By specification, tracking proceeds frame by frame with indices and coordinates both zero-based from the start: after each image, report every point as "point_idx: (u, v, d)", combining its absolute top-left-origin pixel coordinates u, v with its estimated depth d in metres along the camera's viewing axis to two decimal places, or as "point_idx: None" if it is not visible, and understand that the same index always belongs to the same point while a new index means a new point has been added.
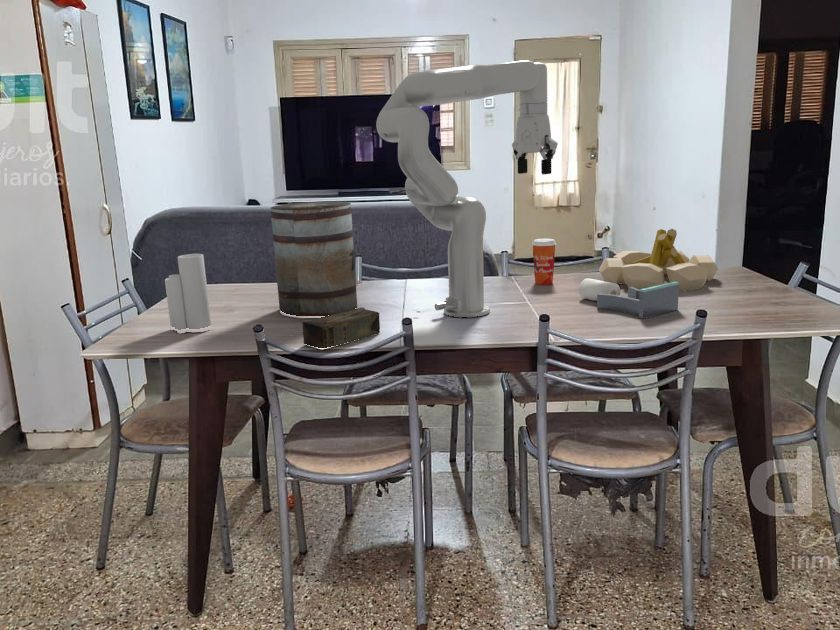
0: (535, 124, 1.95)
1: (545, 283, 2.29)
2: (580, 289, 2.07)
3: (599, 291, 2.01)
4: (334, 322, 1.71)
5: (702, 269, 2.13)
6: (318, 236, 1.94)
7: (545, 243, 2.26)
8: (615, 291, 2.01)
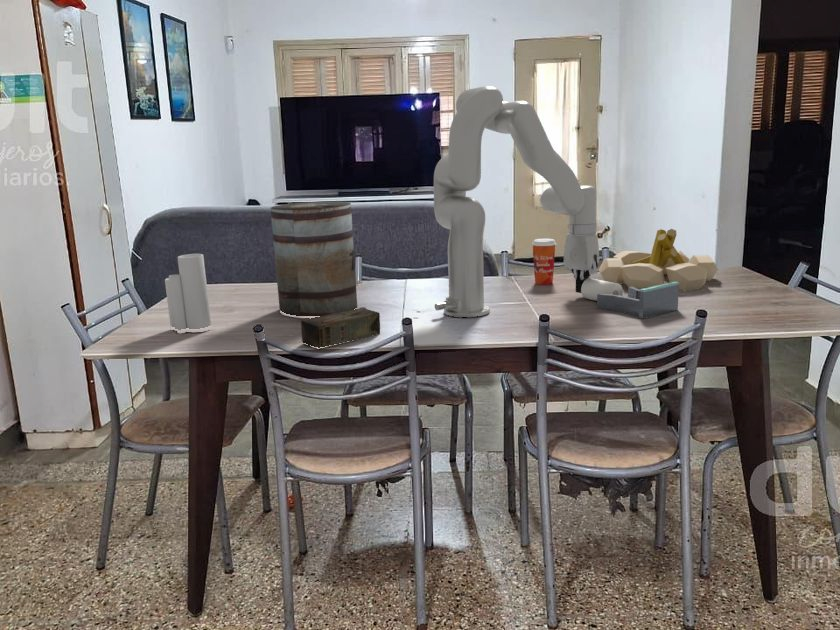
0: (584, 244, 2.03)
1: (545, 283, 2.29)
2: (582, 289, 2.06)
3: (601, 291, 2.00)
4: (331, 321, 1.71)
5: (702, 269, 2.13)
6: (318, 236, 1.94)
7: (545, 243, 2.26)
8: (617, 291, 2.00)
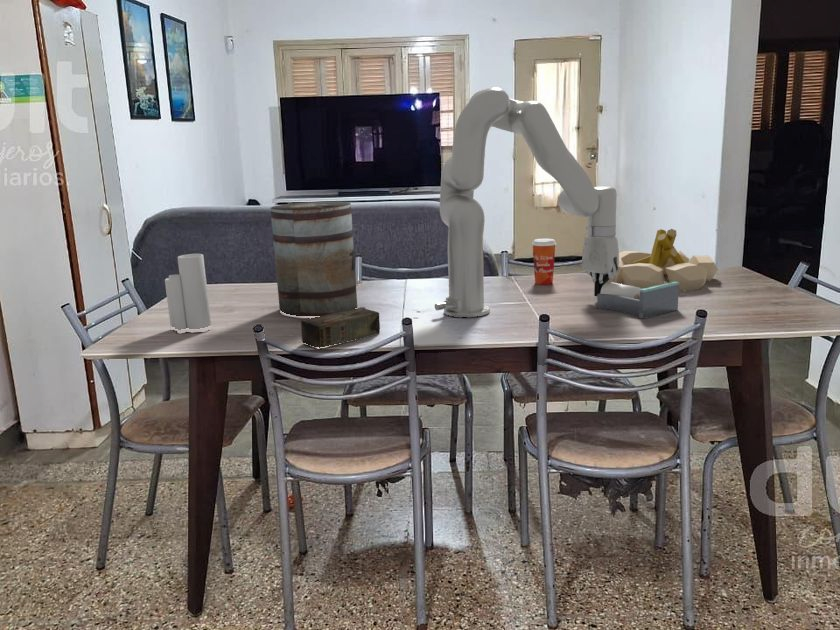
0: (604, 246, 1.97)
1: (545, 283, 2.29)
2: (601, 293, 2.00)
3: (622, 295, 1.94)
4: (332, 321, 1.71)
5: (702, 269, 2.13)
6: (318, 236, 1.94)
7: (545, 243, 2.26)
8: (638, 295, 1.94)
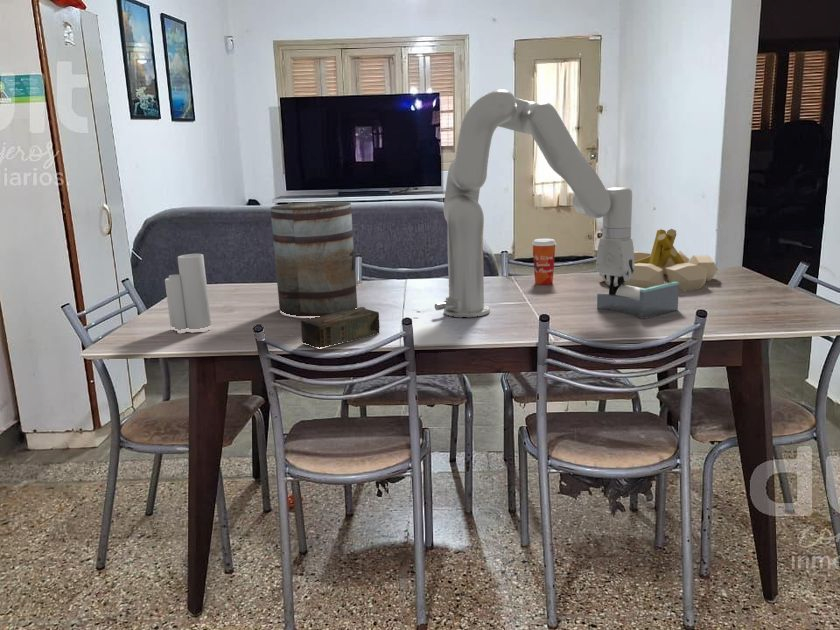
0: (619, 248, 1.93)
1: (545, 283, 2.29)
2: None
3: None
4: (332, 321, 1.71)
5: (702, 269, 2.13)
6: (318, 236, 1.94)
7: (545, 243, 2.26)
8: None
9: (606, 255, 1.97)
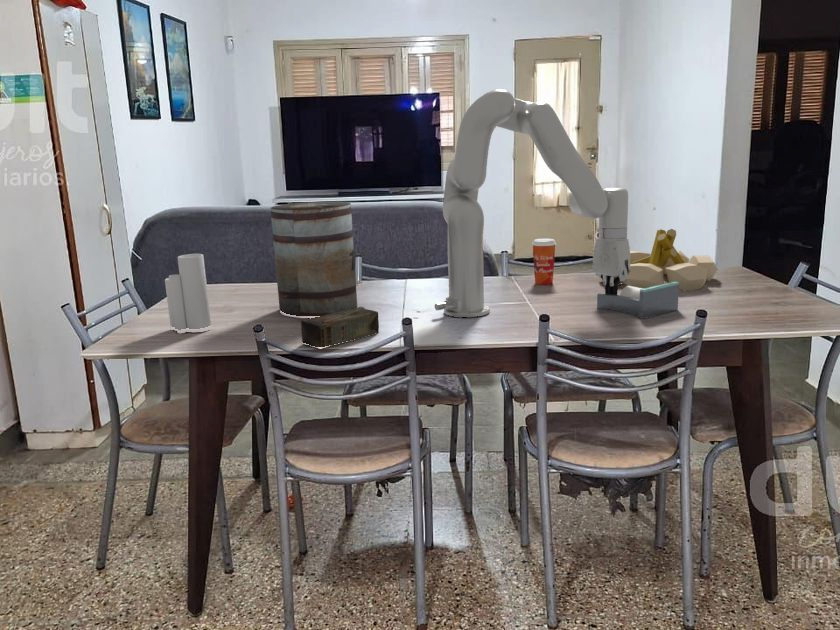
0: (615, 249, 1.94)
1: (545, 283, 2.29)
2: None
3: None
4: (332, 321, 1.72)
5: (702, 269, 2.13)
6: (318, 236, 1.94)
7: (545, 243, 2.26)
8: None
9: (602, 255, 1.98)
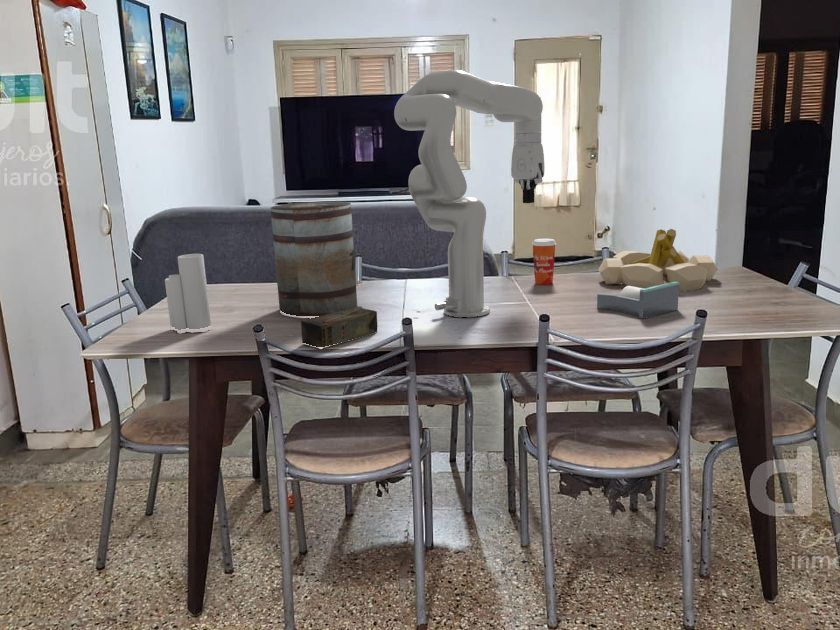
0: (529, 152, 2.07)
1: (545, 283, 2.29)
2: None
3: None
4: (332, 321, 1.72)
5: (701, 269, 2.13)
6: (318, 236, 1.94)
7: (545, 243, 2.26)
8: None
9: (519, 160, 2.11)
